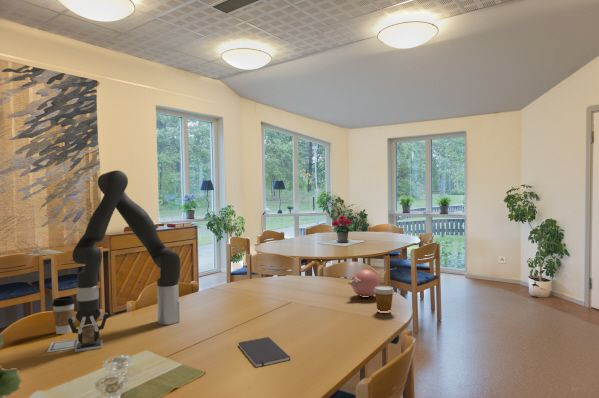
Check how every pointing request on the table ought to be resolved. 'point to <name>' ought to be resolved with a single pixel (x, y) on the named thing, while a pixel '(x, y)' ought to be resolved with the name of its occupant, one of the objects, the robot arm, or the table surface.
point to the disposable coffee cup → (383, 297)
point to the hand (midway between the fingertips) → (88, 341)
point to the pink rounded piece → (364, 283)
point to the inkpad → (88, 346)
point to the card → (63, 345)
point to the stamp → (88, 335)
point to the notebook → (263, 351)
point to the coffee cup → (63, 313)
